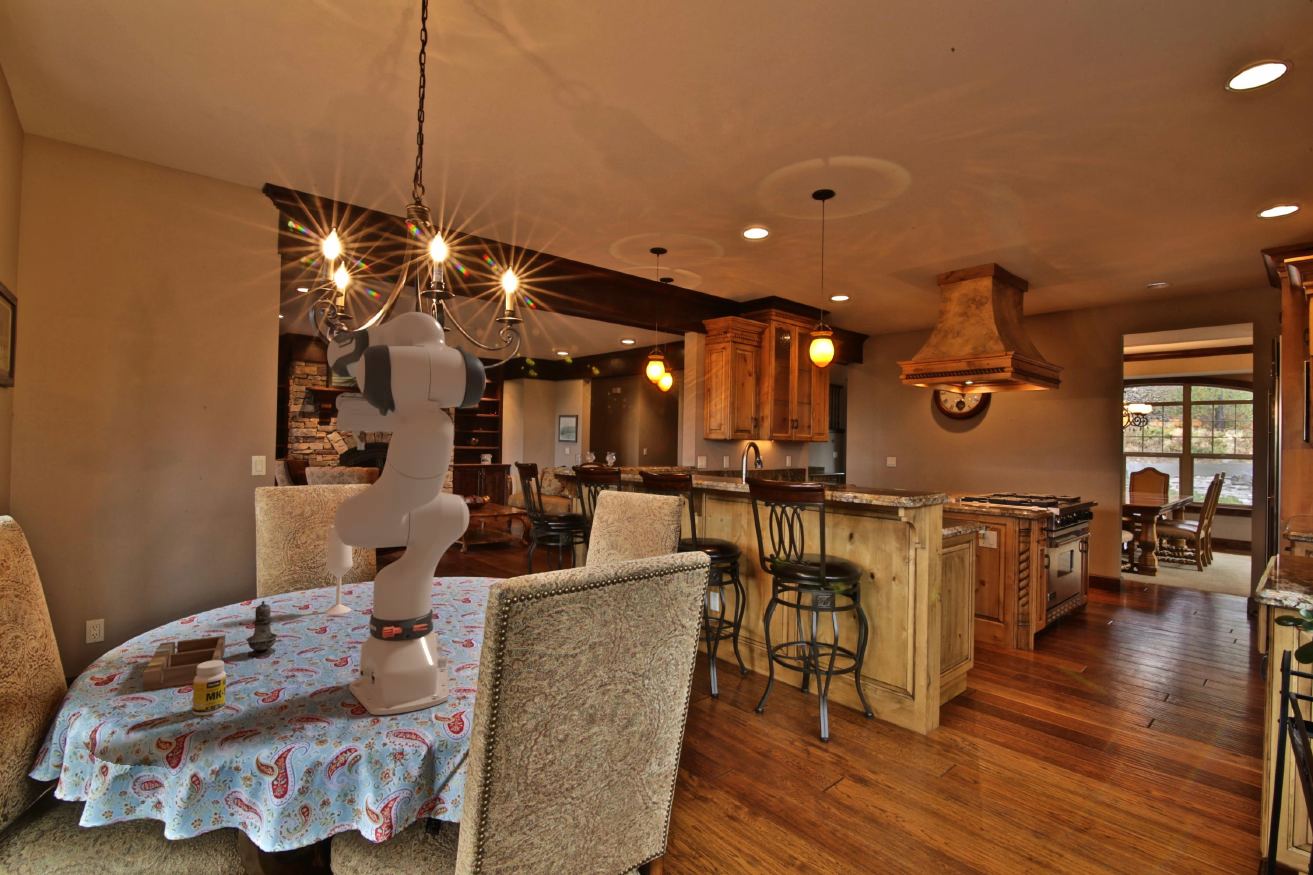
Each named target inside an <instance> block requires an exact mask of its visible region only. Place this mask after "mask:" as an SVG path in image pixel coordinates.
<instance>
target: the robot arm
mask: <svg viewBox="0 0 1313 875" xmlns="http://www.w3.org/2000/svg"><path fill="white" fill-rule="evenodd" d="M445 340H446V337H445V333H444V328H443V327H442V325H441V324H440V323H439V321H438V320H437V319H436V318H435V317H434V316H432V315H430V314H427V313H425V312H422V311H408V312H404V313H402V314H399V315H398V316H395V317H394V318H392V319H391V320H389V321H387V322H384V323H382V324H379V325H374V326H371V327H368V328H366V329H360V330H355V331H353V332H350V333H347V332H339V333H337V334H336V335H335V336H333V337H332V338H331V339H330V342H329V344H328V346H327V355H326V357H327V362H328V366H329V369H330V370H331V371H332V372H334V374H336V375H337V376H339V378H342V377H343V378H356V383H357V385H358V389H359V390H360V392H343V393H340V394H339V395H337V396H336V399H335V408H336V409H337V410H338V412H337V417H336V428H337V429H338V430H339V431H346V432H347V431H349V432H352V436H353V438H354V440H355V441H356V443H357V446H356V449H357V451H364V450H365V442H362V441H361V440H360V438H359V437H358V436H360V433H361V432H385V433H387V432H390V433H391V434H392V435H391V438H390V441H389V443H388V449H387V453H386V459H385V460H386V461H385V464H384V466H383V470H382V472H381V475H380V477H379V478H378V479H377V480H375V482H373V484H371V485H370V486H368V488H365V489H364V490H362V491H361V492H359V493H356V494H354V495H351V496H348V497H346V498H345V499H344V500H343V501H342V502H341V503H340V505H338V507H337V509H336V511H335V514H334V518H333V525H334V528H335V532H336V534H337V536H338V538H339V539H340V540H341V541H342V542H343V543H344V544H345V545H347V546H352V547H357V548H364V549H365V548H366V549H377V548H378V549H379V548H394V547H406V550H405V551H404V553H403V555H402V556H401V557H400V558H399V559H397V560H395V561H394V562H392V563H390V564H387V566H384V567H383V568H382V569H381V570H380V571H379V572H378V573H377V575H376V576H375V578H374V581H373V592H372V593H373V595H372V596H373V598H372V599H373V602H372V613H371V614H370V619H369V633H370V635H369V637H368V638H367V639H366V640H365V641H364V642H363V643H362V644H361V646H360V659H359V660H360V661H359V676H358V678H357V679H355V680H353V681H351V682H350V683H349V687H348V690H349V691H350V692H351V693H352V694H353V696H354V697H355V698H356V699H357V700H358V701H359V703H360V704H361V705H362V706H363V707H364V709H366V710H367V712H368V713H369V714H371V715H379V716H382V715H385V716H387V715H394V714H401V713H402V714H403V713H408V712H414V711H418V710H422V709H423V710H424V709H426V708H430V707H435V706H436V705H439V704H442V703H444V702H446V701H448V700H449V699H450V693H449V692H450V691H449V690H450V689H449V688H450V687H449V672H448V667H447V656H446V655H441V656H440V655H439V656H438V653H440V652H443V644H438V640H439V634H438V633H437V632H435V631H434V614H433V613H434V612H433V609H432V607H431V606H432V605H431V604H432V592H433V591H432V590H433V581H434V575H435V572H436V569H437V567H438V564H439V562H440V560H441V558H442V556H443V555H444V554H445V553H446V552H447V551H448V549H449V548H450V547H451V545H453V544H454V543H456V541H457V540H459V539H460V538H461V537H462V536H463V535H464V534H465V533H466V531H467V529H468V526H469V523H470V510H469V506H468V505H467V503H466V501H465V499H463V497H462V496H461V495H459V494H454V493H448V492H442V490H443V487H444V485H445V480H446V478H447V474H448V470H449V467H450V464H451V458H452V454H453V448H454V435H455V434H454V423H453V421H452V419H451V417H450V416H449V415H448V414H447V413H446V412H445V411H444V410H443V409H449V408H458V409H464V408H470V407H474V406H476V405H478V404H479V403H480V401H481V400H482V398H483V396H484V394H485V389H486V385H487V384H486V383H487V377H486V372H485V371H486V370H485V366H484V364H483V362H482V361H481V360H480V358H478V357H477V356H476V355H475V354H473V353H470V352H469V351H466V350H465V349H464V348H463V346H462V345H460V344H458V345H456V347H453V346H452V347H450V346H448V345H447V344H446V341H445Z"/></svg>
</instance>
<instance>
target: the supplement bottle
mask: <svg viewBox="0 0 1313 875" xmlns="http://www.w3.org/2000/svg"><path fill="white" fill-rule="evenodd" d="M224 670H225V662H224V661H223V660H222V661H221V660H213V661H207V662H203V663H201V664H199V665H198V666H197V676H196V677H195V678H194V683H193V687H192V688H193V693H192V714H193V715H195V716H209V715H212V714H213V715H214V714H216V713H218V712H220V711H222V710H223V709H224V708H226V707H225V705H226V690H227V689H226V687H227V684H226V683H227V673H226V672H225V671H224Z"/></svg>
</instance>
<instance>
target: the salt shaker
mask: <svg viewBox="0 0 1313 875" xmlns="http://www.w3.org/2000/svg"><path fill="white" fill-rule="evenodd" d="M271 609H272V608H271V606H270V605H269V604H266V602H265V600H262V601H261V604H260V605H257V607H256V608H255V611H254V612H255V613H254V614H255V617H254V618H255V619H254V621H253V622H252V623H253V624H254V632H253V635H251V636H249V637H247V638H246V642H247V643H248V647H249V648H250V649H252V651H250V652H249V653H248V654H247V656H248V657H249V658H254V659H255V658H264V657H269V656H271V655H274V654H275V653H276V651H277V650H276V649H274V648H272V647H273V646H274V645H275V643H276V640H277V638H278V634H276V633H273V632H272V630H271V622H272V621H273V619H272V618H271Z"/></svg>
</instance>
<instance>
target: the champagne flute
mask: <svg viewBox="0 0 1313 875" xmlns="http://www.w3.org/2000/svg"><path fill="white" fill-rule="evenodd" d="M352 548H353V546H347V545H345V544H344V543H343V542H342V541H341V540H340V539H339V538H338V536H337V534H336V532H335V528H334V524H333V525H331V527H330V533H329V540H328V547H327V556H326V561H325V562H326V563H325V567H326V569H327V570H328V572H329V573H331V575H333V576H334V577H336V593H335V595H336V596H335V604H334V605H333V606H331V607H329V608H328V609H326V610H325V611H324V613H325V614H326V615H342V614H346V613H349V612H351V611H352V608H350V607H348V606H346V605H343V604H341V603H342V602H341V601H342V577H343V576H345V575H346V574H347V573H348V572H349V571H350V570H351V569H352V567H353V563H354V562H353V549H352Z"/></svg>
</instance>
